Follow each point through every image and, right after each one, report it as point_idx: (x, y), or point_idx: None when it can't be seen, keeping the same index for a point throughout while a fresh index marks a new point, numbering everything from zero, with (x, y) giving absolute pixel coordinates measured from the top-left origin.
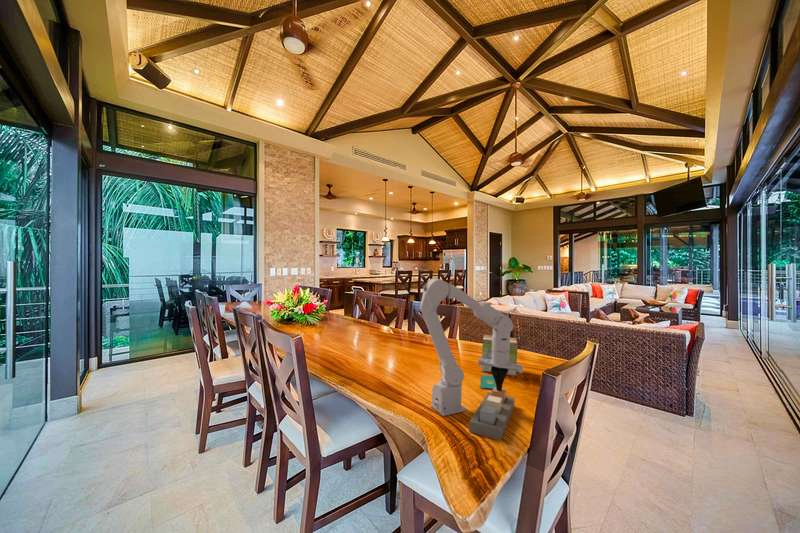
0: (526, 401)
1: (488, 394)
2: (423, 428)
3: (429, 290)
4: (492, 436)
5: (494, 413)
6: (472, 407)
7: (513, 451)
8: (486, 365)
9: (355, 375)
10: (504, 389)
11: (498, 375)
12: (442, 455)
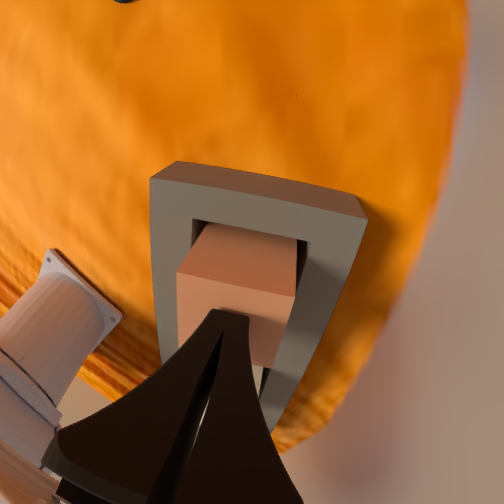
0: (442, 95)
1: (160, 225)
2: (94, 388)
3: None
4: None
5: None
6: (129, 278)
7: (294, 437)
8: (23, 463)
9: None
10: (275, 307)
11: (183, 470)
12: None
